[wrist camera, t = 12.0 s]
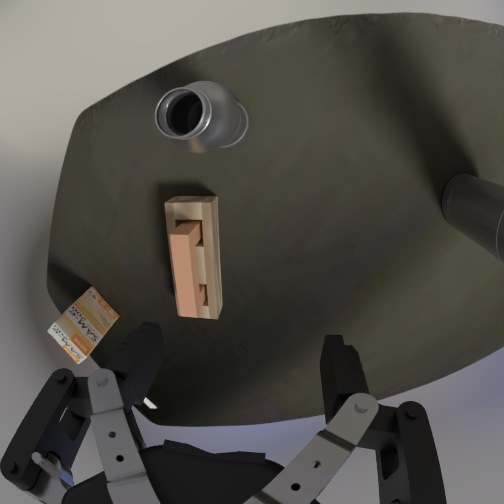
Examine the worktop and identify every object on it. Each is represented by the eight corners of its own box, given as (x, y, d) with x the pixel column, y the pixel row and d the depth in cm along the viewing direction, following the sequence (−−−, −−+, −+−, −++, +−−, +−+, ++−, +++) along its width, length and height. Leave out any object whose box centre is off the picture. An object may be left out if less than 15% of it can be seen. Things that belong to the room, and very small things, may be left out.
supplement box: (120, 315, 49) (88, 358, 37) (109, 324, 51) (78, 365, 39) (92, 283, 47) (53, 322, 35) (82, 294, 49) (46, 332, 37)
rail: (217, 196, 39) (210, 202, 35) (222, 304, 46) (217, 319, 42) (174, 196, 39) (164, 202, 35) (185, 301, 46) (178, 315, 43)
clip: (203, 217, 39) (188, 234, 33) (208, 290, 44) (197, 317, 37) (187, 217, 39) (169, 234, 33) (194, 290, 44) (180, 316, 38)
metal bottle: (196, 130, 35) (119, 129, 17) (226, 92, 33) (173, 51, 14) (232, 158, 36) (186, 180, 18) (264, 119, 34) (248, 99, 16)
